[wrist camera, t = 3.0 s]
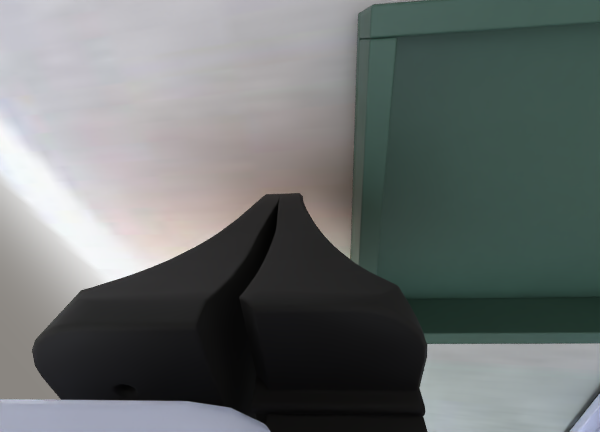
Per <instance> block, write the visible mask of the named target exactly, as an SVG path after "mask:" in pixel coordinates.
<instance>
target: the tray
mask: <svg viewBox="0 0 600 432" xmlns="http://www.w3.org/2000/svg"><path fill="white" fill-rule="evenodd" d="M351 260H352V261H353V262H355V263H356V264H358V265H359V266H361V267H363V268H364V269H366V270H368V271H369V272H371V273H373V274H375V275H377V276H379V277H381V278H383V279H385V280H388V281H390V282H392V283H394V284H396V285H397V286H399V288H400V289H401V291H402V293H403V294H404V296H405V298H406V299H407V301H408V303H409V304H410V306H411V308H412V310H413V312H414V314H415V315H416V317H417V319H418V321H419V324H420V326H421V328H422V331H423V333H424V337H425V340H426V343H427V344H545V343H600V0H424V1H411V2H398V3H385V4H374V5H372V6H370V7H369V8H367V9H365V10H364V11H362V12H360V13H359V14H358V38H357V70H356V102H355V133H354V165H353V197H352V228H351Z"/></svg>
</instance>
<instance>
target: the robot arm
mask: <svg viewBox="0 0 600 432" xmlns="http://www.w3.org/2000/svg"><path fill="white" fill-rule="evenodd" d="M32 353H33V358H34V363H35V366H36V368H37V370H38V371H39V373H40V374H41V376H42V377H43V378H44V380H45V381H46V382H47V383H48V384H49V386H50V387H51V388H52V389H53V390H54V392H55V393H56V394H57V395H58V396H59V398H60V399H61V400H33V399H27V400H26V399H0V432H427V429H426V425H425V422H424V418H423V416H424V414H425V406H424V402H423V399H422V396H421V392H420V389H419V387H420V383H421V379H422V375H423V371H424V366H425V362H426V358H427V343H426V340H425V337H424V333H423V331H422V328H421V326H420V324H419V321H418V319H417V317H416V315H415V314H414V312H413V310H412V308H411V306H410V304H409V303H408V301H407V299H406V298H405V296H404V294H403V293H402V291H401V289H400V288H399V286H397V285H396V284H394V283H392V282H390V281H388V280H385V279H383V278H381V277H379V276H377V275H375V274H373V273H371V272H369V271H368V270H366V269H364V268H363V267H361V266H359V265H358V264H356V263H355V262H353V261H352V260H350V259H349V258H348V257H346V256H345V255H344V254H342V253H341V252H340V251H339V250H338V249H337V248H335V247H334V246H333V245H332V244H331V243H330V242H329V241H328V239H327V238H326V237H325V236H324V235H323V234H322V233H321V231H320V230H319V229H318V227H317V226H316V225H315V223H314V221H313V220H312V218H311V217H310V215H309V213H308V211H307V209H306V207H305V205H304V202H303V196H302V195H301V194H300V193H293V194H266V195H265V196H263V197H262V198H261V199H260V200H259V201H258V202H256V203H255V204H254V205H253V206H252V207H251V208H250V209H249V210H247V211H246V212H245V213H244V214H243V215H242V216H240V217H239V218H238V219H237V220H235V221H234V222H233V223H231V224H230V225H229V226H227V227H226V228H225V229H223V230H222V231H221V232H219V233H218V234H216V235H215V236H213V237H212V238H210V239H208V240H207V241H205V242H203V243H202V244H200V245H198V246H196V247H194V248H192V249H190V250H188V251H186V252H184V253H182V254H180V255H178V256H176V257H174V258H172V259H170V260H168V261H166V262H163V263H161V264H159V265H156V266H154V267H151V268H149V269H146V270H143V271H141V272H138V273H135V274H133V275H130V276H127V277H124V278H121V279H117V280H114V281H111V282H108V283H104V284H101V285H98V286H95V287H92V288H88V289H85V290H81V291H80V292H79V293H78V295H77V296H76V297H75V298H74V299H73V300H72V301H71V302H70V303H69V304H68V305H67V306H66V307H65V308H64V310H63V311H62V312H61V313H60V314H59V315H58V316H57V317H56V318H55V319H54V320H53V322H52V323H51V324H50V325H49V326H48V327H47V328H46V329H45V330H44V331H43V332H42V333H41V334H40V335H39V337H38V338H37V339H36V340H35V343H34V346H33V349H32ZM570 432H600V393H599V395H598V396H597V397H596V399H595V400H594V401H593V402H592V404H591V405H590V406H589V407H588V409H587V410H586V411H585V413H584V414H583V415H582V416H581V418H580V419H579V420H578V421H577V423H576V424H575V425H574V426H573V428H572V429H571V430H570Z"/></svg>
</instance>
